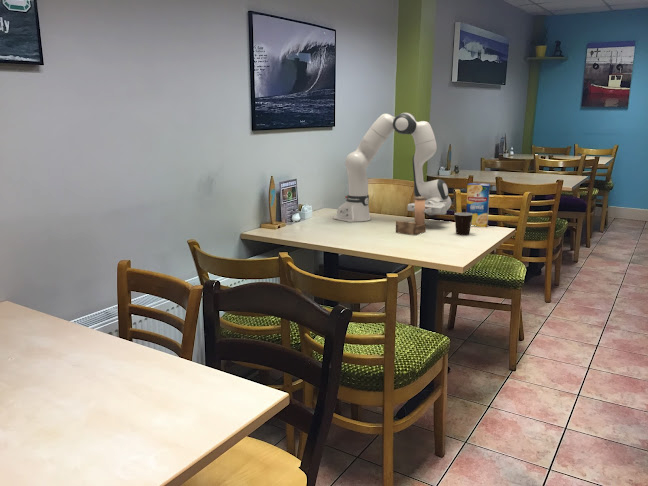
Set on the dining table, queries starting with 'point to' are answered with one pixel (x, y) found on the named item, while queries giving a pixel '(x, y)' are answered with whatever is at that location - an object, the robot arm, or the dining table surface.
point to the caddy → (409, 228)
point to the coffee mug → (463, 223)
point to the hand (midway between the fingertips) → (418, 210)
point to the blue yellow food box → (478, 203)
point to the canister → (419, 210)
